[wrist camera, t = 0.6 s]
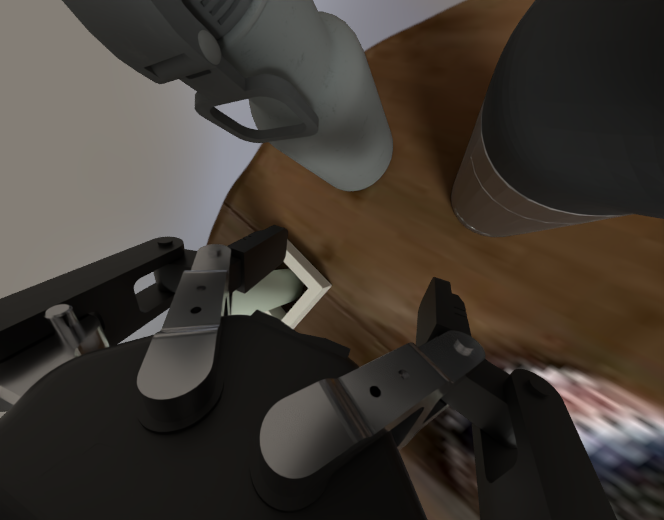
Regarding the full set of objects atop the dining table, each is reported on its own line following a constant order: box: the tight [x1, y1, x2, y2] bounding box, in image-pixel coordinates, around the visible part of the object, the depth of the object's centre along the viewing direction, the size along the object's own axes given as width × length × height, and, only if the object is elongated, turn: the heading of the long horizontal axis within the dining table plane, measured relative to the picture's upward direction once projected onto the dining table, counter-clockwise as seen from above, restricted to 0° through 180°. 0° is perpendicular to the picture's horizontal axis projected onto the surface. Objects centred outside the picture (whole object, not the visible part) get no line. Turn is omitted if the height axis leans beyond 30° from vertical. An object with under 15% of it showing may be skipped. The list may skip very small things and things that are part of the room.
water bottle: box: [62, 0, 393, 191], centre depth 18 cm, size 10×10×28 cm
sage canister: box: [232, 269, 303, 316], centre depth 29 cm, size 5×5×16 cm
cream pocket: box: [264, 239, 332, 329], centre depth 35 cm, size 10×10×3 cm
